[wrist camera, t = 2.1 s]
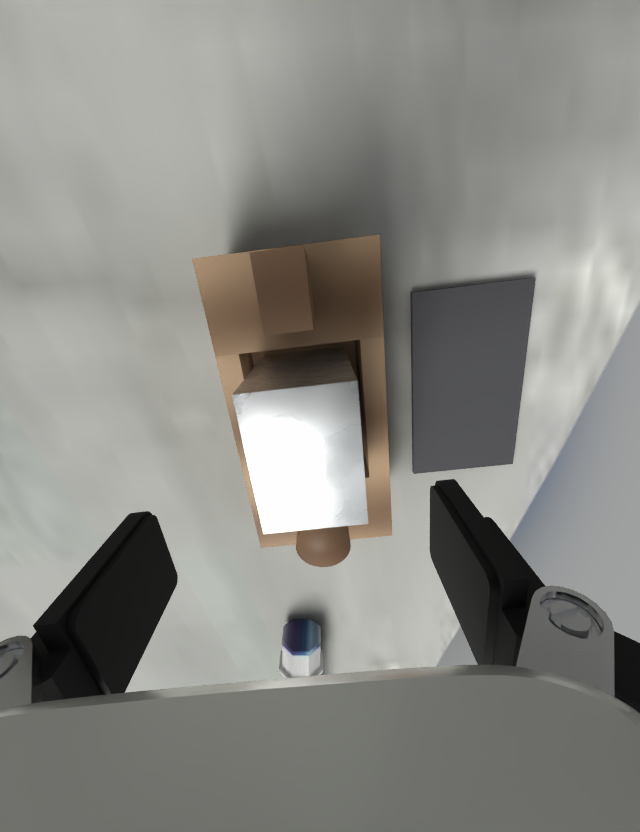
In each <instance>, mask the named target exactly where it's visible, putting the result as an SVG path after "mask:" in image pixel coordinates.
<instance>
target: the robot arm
mask: <svg viewBox="0 0 640 832" xmlns="http://www.w3.org/2000/svg"><path fill="white" fill-rule="evenodd" d="M430 554H431V558H432V561H433V563H434V566H435V568H436V570H437V573H438V575H439V577H440V579H441V582H442V584H443V586H444V589H445V591H446V593H447V595H448V598H449V600H450V602H451V605H452V607H453V609H454V611H455V614H456V616H457V618H458V620H459V623H460V625H461V627H462V630H463V632H464V634H465V636H466V639H467V641H468V643H469V645H470V648H471V650H472V652H473V655H474V657H475V659H476V661H477V663H478V665H454V666H438V667H422V668H406V669H392V670H380V671H367V672H355V673H343V674H331V675H318V676H306V677H294V678H283V679H271V680H260V681H248V682H237V683H226V684H214V685H203V686H192V687H181V688H171V689H160V690H149V691H139V692H128V693H124V692H125V690H126V688H127V686H128V684H129V682H130V680H131V678H132V676H133V674H134V672H135V670H136V668H137V666H138V664H139V661H140V659H141V657H142V655H143V653H144V651H145V649H146V647H147V645H148V643H149V641H150V639H151V637H152V635H153V633H154V631H155V628H156V626H157V624H158V622H159V620H160V618H161V616H162V614H163V612H164V610H165V608H166V606H167V604H168V602H169V600H170V598H171V595H172V593H173V591H174V589H175V587H176V585H177V579H178V578H177V572H176V570H175V567H174V564H173V561H172V558H171V556H170V553H169V550H168V547H167V544H166V542H165V539H164V536H163V533H162V530H161V528H160V525H159V522H158V519H157V517H156V516H155V515H152V514H151V513H150V512H148V511H147V512H137V513H131V514H129V515H128V516H127V517H126V518H125V519H124V521H123V522H122V523H121V524H120V525H119V526H118V527H117V529H116V530H115V531H114V532H113V533H112V534H111V536H110V537H109V538H108V539H107V540H106V541H105V543H104V544H103V545H102V546H101V547H100V548H99V550H98V551H97V552H96V553H95V554H94V555H93V557H92V558H91V559H90V560H89V561H88V562H87V563H86V565H85V566H84V567H83V568H82V569H81V570H80V572H79V573H78V574H77V575H76V576H75V577H74V579H73V580H72V581H71V582H70V583H69V584H68V586H67V587H66V588H65V589H64V590H63V591H62V593H61V594H60V595H59V596H58V597H57V598H56V599H55V601H54V602H53V603H52V604H51V605H50V606H49V608H48V609H47V610H46V611H45V612H44V613H43V615H42V616H41V617H40V618H39V619H38V620H37V622H36V623H35V624H34V625H33V627H34V628H35V630H36V633H35V634H34V635H33V637H32V638H29V637H27V636H16V637H12V638H8V639H6V640H4V641H2V642H0V832H640V643H638V642H636V641H634V640H632V639H630V638H628V637H625V636H623V635H621V634H619V633H617V632H615V631H614V629H613V625H612V622H611V620H610V619H609V617H608V616H607V614H606V613H605V612H604V611H603V610H602V609H601V608H600V607H599V606H598V605H597V604H596V603H595V602H593V601H592V600H591V599H589V598H588V597H586V596H585V595H582V594H580V593H578V592H576V591H574V590H571V589H567V588H564V587H560V586H545V585H544V584H543V583H542V582H541V580H540V579H539V578H538V576H537V575H536V574H535V572H534V571H533V570H532V569H531V568H530V566H529V565H528V564H527V562H526V561H525V560H524V559H523V557H522V556H521V555H520V553H519V552H518V551H517V550H516V549H515V547H514V546H513V545H512V543H511V542H510V541H509V540H508V538H507V537H506V536H505V534H504V533H503V532H502V531H501V529H500V528H499V527H498V526H497V524H496V523H495V522H494V521H493V520H492V519H491V518H489V517H483V516H482V515H481V513H480V512H479V511H478V509H477V508H476V507H475V505H474V504H473V503H472V501H471V500H470V499H469V497H468V496H467V495H466V493H465V492H464V491H463V490H462V488H461V487H460V486H459V484H458V483H457V482H456V481H455V480H454V479H451V480H441V481H436V483H435V486H431V488H430Z"/></svg>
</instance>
